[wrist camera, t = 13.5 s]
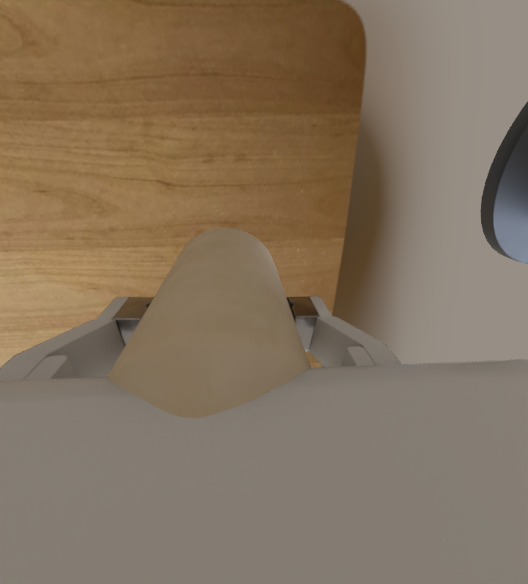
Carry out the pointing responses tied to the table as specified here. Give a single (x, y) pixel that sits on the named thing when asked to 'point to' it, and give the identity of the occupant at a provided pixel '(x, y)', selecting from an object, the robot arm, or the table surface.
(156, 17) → the table surface
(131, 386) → the candle
